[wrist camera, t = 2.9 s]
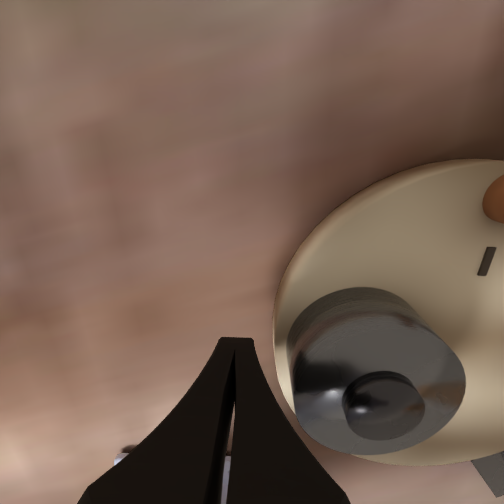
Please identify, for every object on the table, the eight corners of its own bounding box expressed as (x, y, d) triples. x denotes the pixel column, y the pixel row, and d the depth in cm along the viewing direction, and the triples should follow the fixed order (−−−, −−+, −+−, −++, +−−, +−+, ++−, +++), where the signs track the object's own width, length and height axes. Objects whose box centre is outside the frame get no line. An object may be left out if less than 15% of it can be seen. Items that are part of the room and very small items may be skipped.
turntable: (524, 435, 18) (649, 572, 12) (265, 427, 18) (269, 562, 12) (673, 164, 12) (1053, 189, 6) (283, 152, 12) (309, 164, 6)
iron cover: (404, 397, 14) (448, 473, 11) (281, 394, 14) (289, 469, 11) (438, 288, 12) (506, 344, 9) (291, 284, 12) (305, 338, 9)
